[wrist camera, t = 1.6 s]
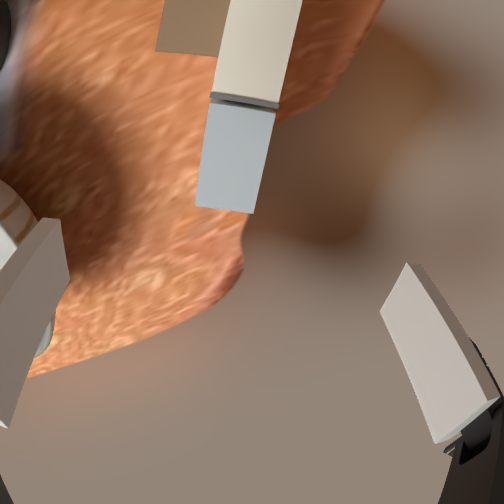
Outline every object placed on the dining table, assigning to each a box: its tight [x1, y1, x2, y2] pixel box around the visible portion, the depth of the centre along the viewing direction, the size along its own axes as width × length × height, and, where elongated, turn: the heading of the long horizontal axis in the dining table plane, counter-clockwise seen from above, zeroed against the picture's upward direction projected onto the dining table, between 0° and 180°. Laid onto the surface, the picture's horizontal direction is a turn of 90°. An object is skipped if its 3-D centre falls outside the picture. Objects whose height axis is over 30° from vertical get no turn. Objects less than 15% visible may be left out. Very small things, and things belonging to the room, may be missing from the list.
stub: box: [195, 98, 276, 214], centre depth 24 cm, size 4×7×12 cm, turn 169°
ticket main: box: [155, 0, 303, 109], centre depth 19 cm, size 9×9×12 cm
